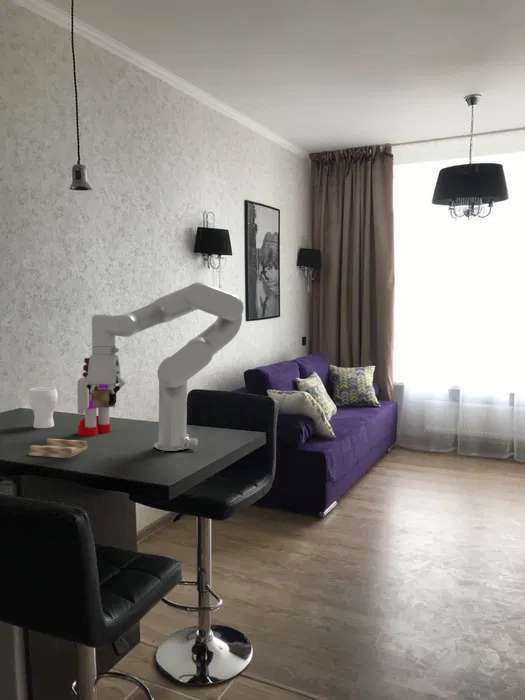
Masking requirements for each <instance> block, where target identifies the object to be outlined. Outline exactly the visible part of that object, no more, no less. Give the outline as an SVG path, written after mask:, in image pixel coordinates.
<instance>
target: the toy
mask: <svg viewBox="0 0 525 700" xmlns="http://www.w3.org/2000/svg"><path fill="white" fill-rule="evenodd" d="M89 360H90V357H85V358H84V360H83V362H84V365H83V367H82V370H83V371H84V372H83V373H82V377H81V378H79V379H78V380H77V388H76V389H77V390H76V391H77V395H76V396H77V414H79V415H84V418H82V419H81V420H80V421H79V424H78V425H77V434H78V436H83V437H93V436H94V437H95V436H98V435H99V434H107V433H111V431H112V430H111V429H112V427H111V425H112V423H111V422H110V408H116V404H115V405H113V406H111V407H108V408H106V407H93V402H92V393H91V392H90V390H89V389H88V388H87V386H85V385H84V384H83V380H84V379H85V378H86V377H87V376H88V366H89ZM99 388H108V389H110V388H109V385H99V386H98V389H99ZM97 412H98V413H97Z"/></svg>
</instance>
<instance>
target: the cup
mask: <svg viewBox="0 0 525 700" xmlns="http://www.w3.org/2000/svg"><path fill="white" fill-rule="evenodd" d="M58 399H59V395H58V390H57V388H56V387H52V386H45V387H44V386H42V387H33V388H30V390H29V395H28V402H29V405H30V407H31V409H32V412H33V416H34V420H33V424H32V425H33V428H35V429H48V428H53V427H54V426H55V420H54V410H55V409H56V406H57V404H58Z"/></svg>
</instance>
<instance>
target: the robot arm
mask: <svg viewBox="0 0 525 700" xmlns="http://www.w3.org/2000/svg"><path fill="white" fill-rule="evenodd" d="M197 310H199V311H203V312H204V313H208V314H210V315H213V316H215V317H217V319H216V320H215V321H214V322H213V323H212V324H210V325H209V326H208V327H207V328H206V329H205V330H203V331H202V332H201V333H199V334H198V335H197V336H195V337H193V338H192V339H190V340H188V342H187V343H186V344H184V345H183V347H181V348H180V349H179V350H177V351H176V352H175V353H173V354H172V355H171V356H167V357H166V358H164V359H162V361H161V362H160V363H159V366H158V369H157V379H158V441H157V442H155V443H154V444H153V448H154V447H155V448H157V449H162V450H175V449H182V448H185V447H188V446H186V445H189V444H191V446H198V442H199V440H198V438H195V437H190V434H189V433H187V414H188V412H187V411H188V410H187V409H188V408H187V407H188V406H187V403H188V402H187V401H188V381H189V380H190V379H191V378H192V377H194V376H195V375H197V374H198V373H199V372H201V371H202V370H204V368H206V367H207V366H208V365H209V364H210V363H211V361H212V359H213V357H214V355H216V354H217V353H219V351H221V350H222V349H223V348H224V347H225V346H227V345H228V344H229V343H230V342H232V340H234V339H235V337H236V336H237V335H238V333H239V331H240V329H241V327H242V322H243V313H244V302H243V301H242V299H241V297H239V296H237V295H235V294H232V293H230V292H227V291H224V290H222V289H221V290H220V289H219V288H216V287H212V285H211V286H210V285H208V284H206V283H204V282H194V283H191V284H190V285H188V286H186V287H183V288H180V289H179V290H175V291H173V292H171V293H168V294H165V295H163V296H161V297H159V298H157V299H155V300H154V301H153V302H151V303H149V304H147V305H145V306H142V307H140V308H138V309H134V310H133V311H131V312H128V313H124V314H119V315H112V314H105V313H104V314H103V313H102V314H100V313H99V314H94V315H92V318H91V355H89V358H90V360H89V366H88V376H87V377H86V378H85V377H84V378H85V379H84V380H83V384H84V385H85V386H87V388H88V389H89V390H90V392H91V393H92V402H93V390H96V389H98V386H99V385H109V388H110V391H111V394H110V406H112V405H115V406H116V403H117V393H118V392H119V391H120V390H121V389H122V388H123V387H124V386H126V382H125V380H124V379H123V378H122V376H121V365H120V364H121V363H120V358H119V355H117V353H119V352H120V349H119V347H117V346H116V336H118V337H123V338H128V337H131V336H134V335H135V334H138V333H140V332H142V331H145V330H148V329H149V328H153V327H154V326H157V325H160V324H164V323H165V324H166V323H168V322H171V321H173V320H175V319H178V318H180V317H183V316H186V315H188V314H190V313H193V312H195V311H197Z"/></svg>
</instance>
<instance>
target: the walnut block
mask: <svg viewBox="0 0 525 700" xmlns="http://www.w3.org/2000/svg"><path fill="white" fill-rule="evenodd" d="M110 394H111V391H110V389H108V388H99V389H96V390H93V407H106V408H108V407H109V408H112V407H111V406H110ZM112 406H113V405H112Z"/></svg>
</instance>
